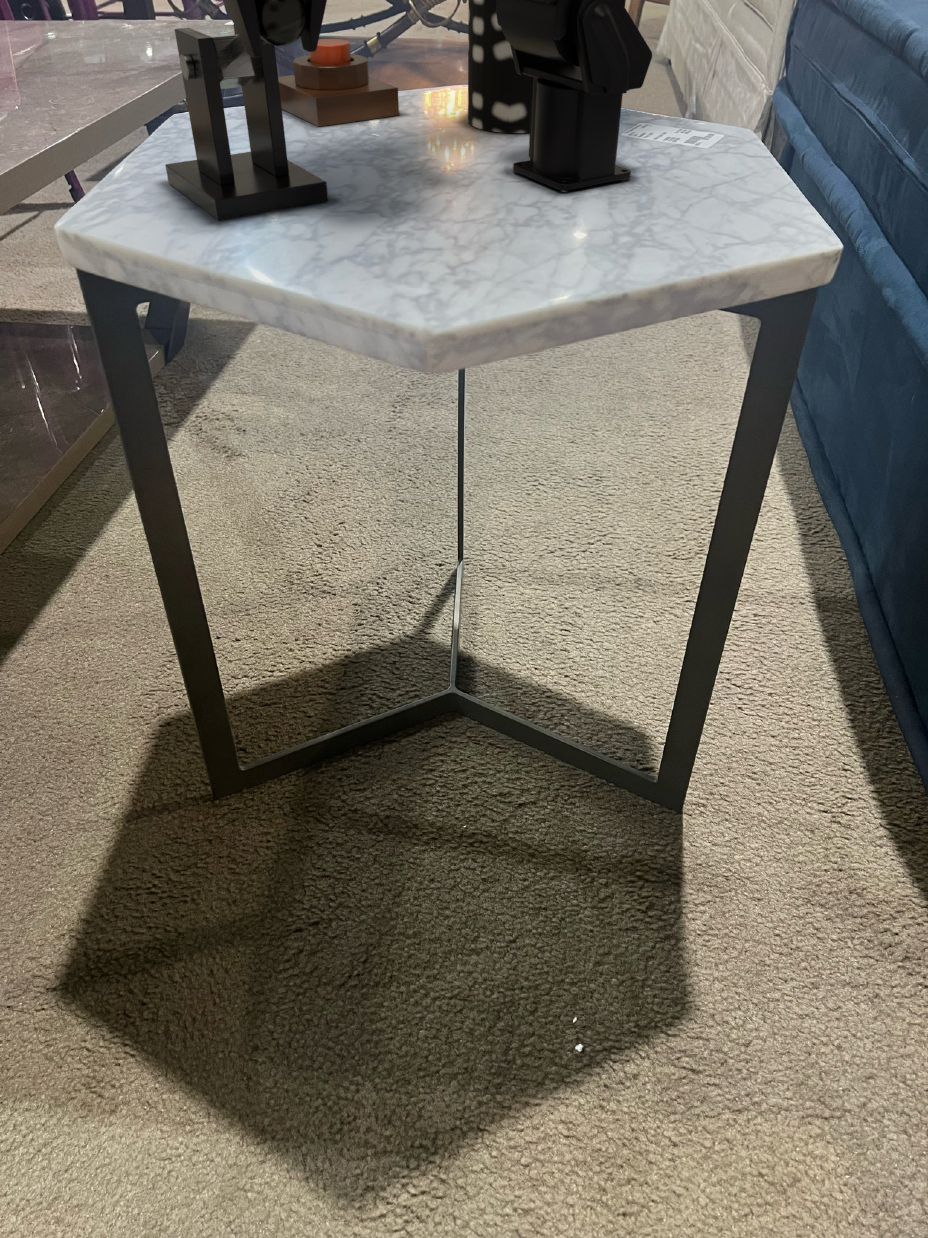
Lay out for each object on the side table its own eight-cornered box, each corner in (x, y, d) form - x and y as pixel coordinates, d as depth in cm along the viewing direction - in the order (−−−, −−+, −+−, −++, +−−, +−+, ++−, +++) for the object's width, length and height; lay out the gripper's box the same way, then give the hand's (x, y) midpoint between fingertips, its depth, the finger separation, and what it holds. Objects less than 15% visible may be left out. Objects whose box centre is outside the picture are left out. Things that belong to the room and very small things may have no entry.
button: (358, 65, 82) (356, 43, 81) (321, 70, 81) (319, 46, 80) (340, 59, 84) (338, 37, 83) (303, 63, 83) (301, 40, 82)
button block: (399, 115, 83) (397, 63, 81) (318, 126, 80) (313, 73, 77) (348, 94, 90) (345, 46, 87) (272, 104, 86) (266, 54, 84)
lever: (321, 33, 52) (306, -33, 51) (268, 38, 51) (251, -30, 49) (251, 92, 63) (237, 38, 62) (206, 97, 62) (191, 43, 60)
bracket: (328, 201, 64) (313, 35, 58) (218, 220, 61) (189, 47, 54) (270, 166, 70) (252, 14, 64) (168, 183, 67) (137, 24, 61)
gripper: (84, -376, 34) (170, 98, 44) (502, -339, 42) (494, 60, 52) (17, -341, 41) (104, 61, 52) (384, -315, 49) (398, 31, 59)
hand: (282, 53), depth 53 cm, fingers closed on lever, 3 cm apart
